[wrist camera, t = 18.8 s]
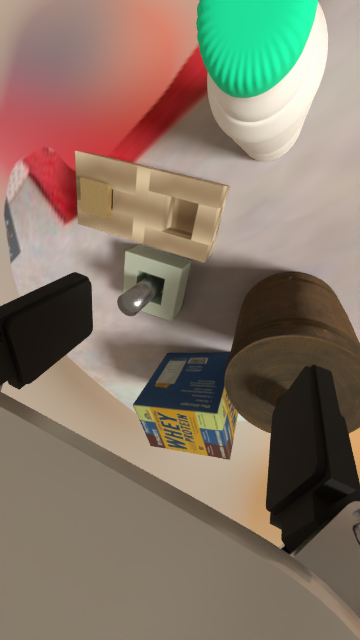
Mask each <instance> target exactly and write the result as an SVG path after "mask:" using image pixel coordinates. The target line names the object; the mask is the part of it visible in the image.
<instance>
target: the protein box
mask: <svg viewBox="0 0 360 640" xmlns="http://www.w3.org/2000/svg"><path fill="white" fill-rule="evenodd" d="M229 356H230V353H167V354H166V356H165V358H164V359H163V361H162V362H161V364H160V365H159V367H158V368H157V370H156V371H155V373H154V374H153V376H152V377H151V379H150V380H149V382H148V383H147V385H146V386H145V388H144V389H143V391H142V392H141V394H140V395H139V397H138V398H137V400H136V401H135V403H134V404H133V406H134V408H135V411H136V413H137V415H138V417H139V419H140V421H141V424H142V426H143V429H144V431H145V433H146V436H147V438H148V440H149V443H150V445H151V446H154V447H161V448H167V449H172V450H178V451H184V452H190V453H195V454H200V455H206V456H213V457H218V458H223V459H230V455H231V449H232V444H233V438H234V433H235V426H236V421H237V416H238V412H237V411H236V409H235V408H234V407H233V405H232V404H231V402H230V400H229V398H228V396H227V393H226V390H225V372H226V366H227V362H228V358H229Z"/></svg>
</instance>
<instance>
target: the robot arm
mask: <svg viewBox="0 0 360 640" xmlns="http://www.w3.org/2000/svg"><path fill="white" fill-rule="evenodd" d="M92 330H93V318H92V288H91V282H90V281H89V278H88V277H87V276H84V275H82V274H79V273H76V272H74V273H71V274H69V275H67V276H65V277H62V278H60V279H58V280H56V281H54V282H52V283H49V284H47V285H45V286H43V287H41V288H39V289H36V290H34V291H32V292H30V293H28V294H26V295H24V296H21V297H19V298H17V299H15V300H13V301H11V302H9V303H7V304H4V305H2V306H0V640H360V483H359V478H358V474H357V470H356V465H355V461H354V456H353V452H352V447H351V443H350V438H349V434H348V429H347V425H346V421H345V418H344V417H343V416H342V415H341V414H340V409H339V404H338V400H337V395H336V390H335V385H334V381H333V376H332V372H331V371H330V370H328V369H325V368H322V367H320V366H317V365H315V364H314V365H312V366H311V367H309V366H305V367H304V368H303V370H302V371H301V372H300V374H299V375H298V377H297V378H296V379H295V381H294V382H293V384H292V385H291V386H290V388H289V389H288V390H287V392H286V393H285V395H284V396H283V397H282V399H281V400H280V402H279V403H278V404H277V406H276V407H275V409H274V411H273V415H272V425H271V439H270V455H269V467H268V483H267V496H266V509H267V510H268V511H270V512H271V514H270V524H272V525H274V526H276V527H278V528H279V529H281V530H282V541H283V543H284V544H283V545H282V546H280V547H279V548H278V547H277V546H275V545H273V544H272V543H271V542H269V541H267V540H266V539H264V538H263V537H261V536H259V535H258V534H256V533H254V532H253V531H251V530H249V529H248V528H246V527H244V526H242V525H241V524H239V523H237V522H236V521H234V520H232V519H230V518H229V517H226V516H225V515H223V514H222V513H220V512H218V511H216V510H214V509H213V508H211V507H209V506H208V505H206V504H204V503H203V502H201V501H199V500H197V499H195V498H193V497H192V496H190V495H188V494H186V493H184V492H182V491H181V490H179V489H177V488H175V487H174V486H172V485H170V484H168V483H166V482H164V481H163V480H161V479H159V478H157V477H155V476H153V475H152V474H150V473H148V472H146V471H145V470H143V469H141V468H139V467H137V466H136V465H133V464H132V463H130V462H128V461H127V460H125V459H123V458H121V457H119V456H117V455H116V454H114V453H112V452H110V451H108V450H107V449H105V448H103V447H101V446H99V445H97V444H96V443H94V442H92V441H90V440H88V439H86V438H85V437H83V436H81V435H79V434H77V433H75V432H74V431H72V430H70V429H68V428H66V427H64V426H63V425H61V424H59V423H57V422H55V421H53V420H52V419H50V418H48V417H46V416H44V415H42V414H41V413H39V412H37V411H35V410H33V409H31V408H29V407H27V406H26V405H24V404H22V403H20V402H18V401H16V400H15V399H13V398H11V397H9V396H7V395H5V394H4V393H2V392H1V389H2V385H3V383H5V382H6V381H8V383H9V384H10V385H12V386H13V387H15V388H18V389H21V388H22V387H23V386H24V385H26V384H30V383H31V382H33V381H34V380H35V379H37V378H38V377H39V376H40V375H41V374H43V373H44V372H45V371H46V370H48V369H49V368H50V367H51V366H52V365H54V364H55V363H56V362H57V361H59V360H60V359H61V358H62V357H63V356H65V355H66V354H67V353H68V352H70V351H71V350H72V349H73V348H75V347H76V346H77V345H78V344H80V343H81V342H82V341H83V340H84V339H86V338H87V337H88V336H89V335H90V334H91V332H92Z"/></svg>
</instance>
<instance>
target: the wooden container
mask: <svg viewBox="0 0 360 640" xmlns="http://www.w3.org/2000/svg"><path fill="white" fill-rule="evenodd" d="M314 364H315V365H317V366H320V367H322V368H325V369H328V370H330V371H331V372H332V376H333V381H334V385H335V390H336V395H337V400H338V404H339V409H340V414H341V415H342V416H343V417H344V418H345V421H346V425H347V429H348V434H349V433H351V432H353V431H355V430H356V429H358V428H359V427H360V343H359V341H358V339H357V337H356V334H355V332H354V329H353V327H352V325H351V322H350V320H349V318H348V316H347V314H346V312H345V310H344V308H343V307H342V305H341V303H340V301H339V300H338V298H337V296H336V294H335V293H334V291H333V290H332V289H331V288H330V287H329V286H328V285H327V284H326V283H325V282H324V281H322V280H320V279H318V278H316V277H314V276H312V275H308V274H304V273H295V272H288V273H281V274H276V275H273V276H271V277H268V278H266V279H264V280H263V281H261V282H259V283H258V284H257V285H256V286H254V287H253V288H252V289H251V290H250V292H249V293H248V295H247V296H246V298H245V300H244V302H243V305H242V309H241V312H240V315H239V319H238V322H237V327H236V331H235V336H234V340H233V344H232V349H231V353H230V356H229V358H228V362H227V366H226V372H225V390H226V393H227V396H228V398H229V400H230V402H231V404H232V405H233V407H234V408H235V409H236V411H237V412H238V413H239V414H240V415H241V416H242V417H243V418H245V419H246V420H247V421H248V422H250V423H251V424H253V425H254V426H256V427H258V428H260V429H261V430H263V431H266V432H269V433H271V425H272V415H273V411H274V409H275V407H276V406H277V404H278V403H279V402H280V400H281V399H282V397H283V396H284V395H285V393H286V392H287V390H288V389H289V388H290V386H291V385H292V384H293V382H294V381H295V379H296V378H297V377H298V375H299V374H300V372H301V371H302V370H303V368H304V367H305V366H309V367H311V366H312V365H314Z"/></svg>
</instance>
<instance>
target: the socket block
mask: <svg viewBox="0 0 360 640" xmlns="http://www.w3.org/2000/svg"><path fill="white" fill-rule="evenodd" d="M75 165H76V187H77V209H78V224H81V225H84V226H87V227H90V228H94V229H97V230H100V231H103V232H107V233H110V234H113V235H116V236H119V237H123V238H126V239H129V240H132V241H136V242H139V243H142V244H145V245H148V246H152V247H155V248H158V249H161V250H165V251H168V252H171V253H174V254H177V255H181V256H184V257H187V258H190V259H194V260H197V261H200V262H203V263H204V262H205V261H206V260H207V259H208V258H209V257H210V256H211V255H212V251H213V247H214V244H215V240H216V236H217V232H218V229H219V225H220V221H221V217H222V214H223V210H224V206H225V203H226V199H227V195H228V191H229V188H230V186H228V185H223V184H219V183H215V182H211V181H207V180H203V179H198V178H194V177H190V176H186V175H182V174H178V173H173V172H169V171H165V170H161V169H157V168H153V167H148V166H144V165H140V164H136V163H132V162H128V161H123V160H119V159H115V158H111V157H107V156H102V155H98V154H93V153H87V152H80V151H75ZM80 177H86V178H89V179H93V180H97V181H101V182H105V183H108V184H112V189H113V206H111V218H109V219H105V218H102V217H99V216H95V215H92V214H89V213H85V212H82V211H81V190H80Z"/></svg>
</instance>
